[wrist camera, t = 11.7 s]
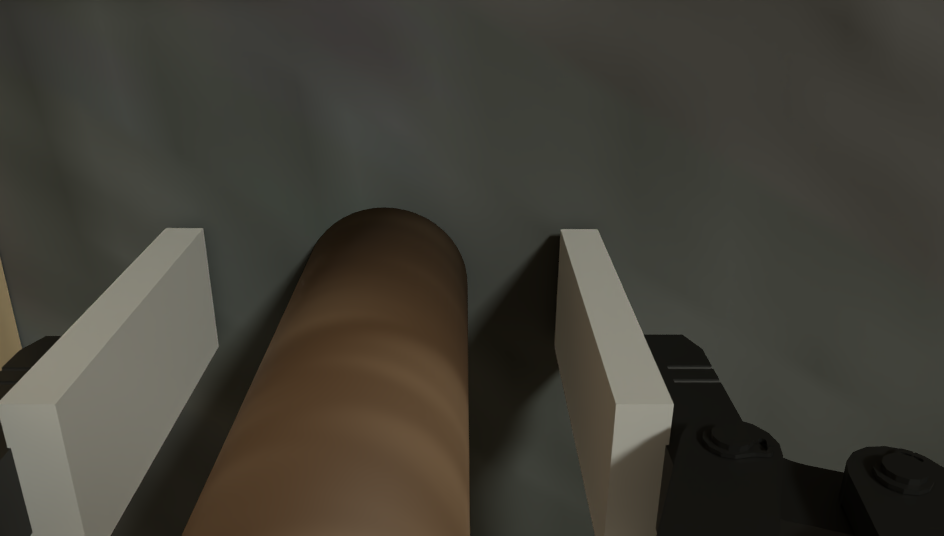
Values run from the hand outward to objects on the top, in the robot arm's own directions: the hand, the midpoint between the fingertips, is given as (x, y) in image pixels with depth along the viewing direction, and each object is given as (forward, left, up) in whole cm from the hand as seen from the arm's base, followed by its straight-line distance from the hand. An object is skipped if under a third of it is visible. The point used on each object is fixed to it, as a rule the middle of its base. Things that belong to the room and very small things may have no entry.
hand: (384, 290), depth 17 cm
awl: (0, 0, 0) cm, 0 cm away
